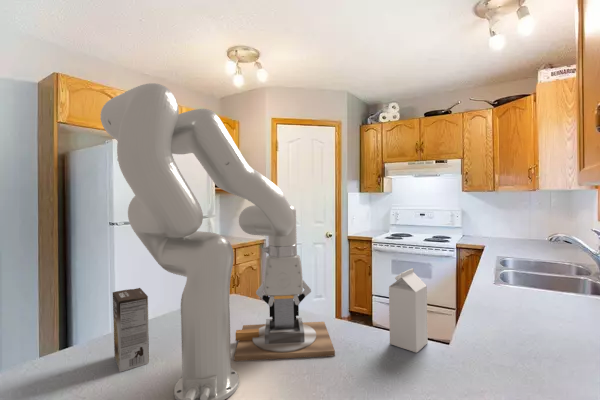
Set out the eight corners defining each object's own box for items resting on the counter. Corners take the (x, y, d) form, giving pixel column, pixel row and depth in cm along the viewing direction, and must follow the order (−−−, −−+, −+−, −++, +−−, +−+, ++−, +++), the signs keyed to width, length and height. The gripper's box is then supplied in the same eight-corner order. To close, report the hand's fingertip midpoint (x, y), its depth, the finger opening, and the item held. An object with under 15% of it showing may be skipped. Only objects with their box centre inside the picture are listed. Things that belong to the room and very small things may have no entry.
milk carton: (427, 343, 81) (426, 270, 81) (416, 353, 76) (415, 275, 76) (401, 335, 86) (400, 266, 86) (389, 344, 80) (388, 271, 80)
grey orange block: (294, 328, 81) (293, 294, 81) (274, 329, 81) (274, 295, 81) (293, 321, 86) (292, 288, 86) (275, 322, 86) (274, 289, 86)
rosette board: (334, 355, 75) (334, 338, 75) (231, 361, 74) (230, 343, 74) (324, 325, 93) (324, 311, 93) (240, 329, 92) (240, 315, 92)
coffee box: (113, 357, 77) (111, 291, 77) (142, 349, 81) (140, 286, 81) (118, 373, 70) (117, 301, 69) (150, 363, 73) (148, 295, 73)
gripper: (249, 254, 79) (250, 326, 79) (316, 252, 80) (317, 323, 80) (251, 249, 87) (253, 315, 87) (313, 247, 88) (314, 312, 88)
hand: (284, 318), depth 84 cm, fingers closed on grey orange block, 5 cm apart
